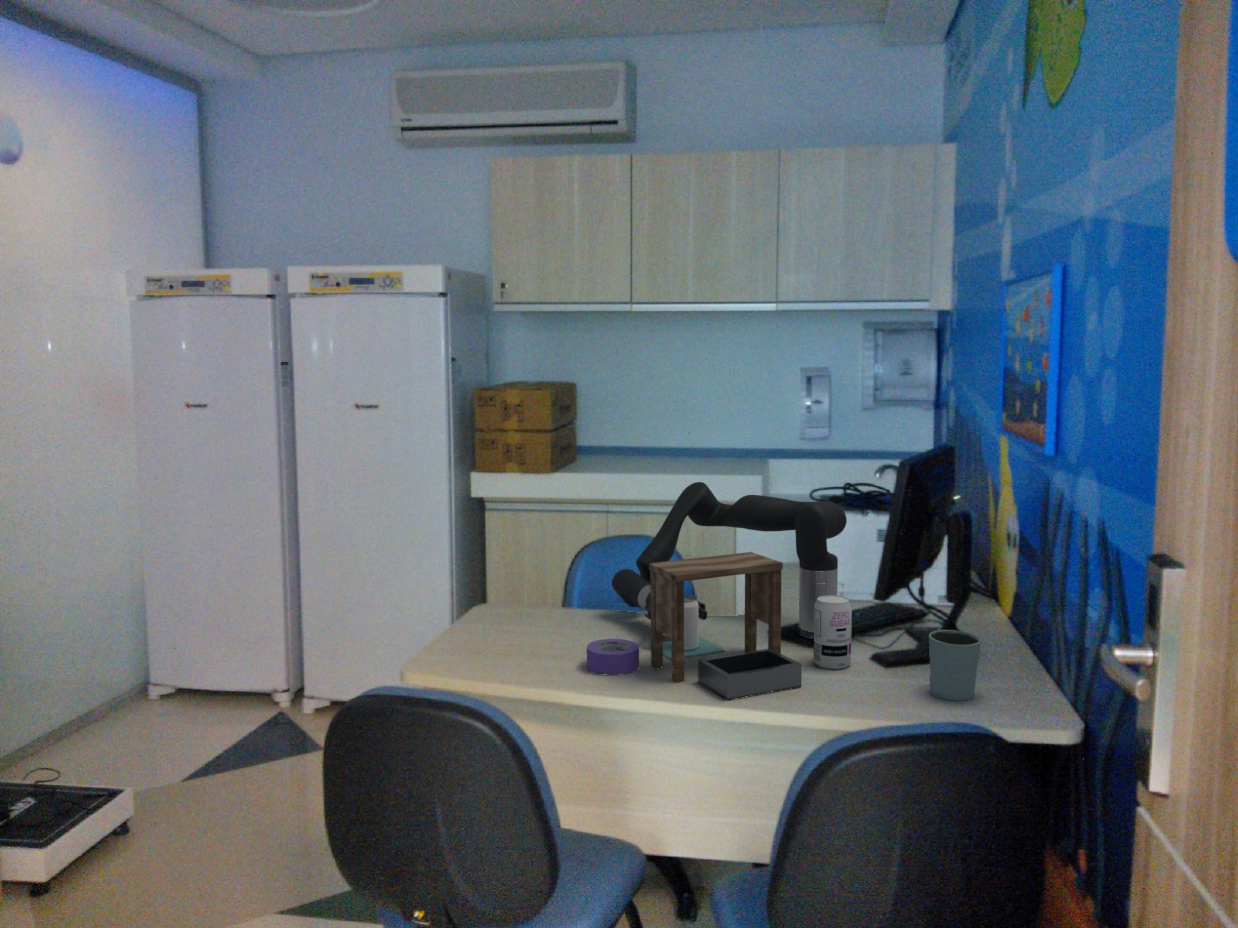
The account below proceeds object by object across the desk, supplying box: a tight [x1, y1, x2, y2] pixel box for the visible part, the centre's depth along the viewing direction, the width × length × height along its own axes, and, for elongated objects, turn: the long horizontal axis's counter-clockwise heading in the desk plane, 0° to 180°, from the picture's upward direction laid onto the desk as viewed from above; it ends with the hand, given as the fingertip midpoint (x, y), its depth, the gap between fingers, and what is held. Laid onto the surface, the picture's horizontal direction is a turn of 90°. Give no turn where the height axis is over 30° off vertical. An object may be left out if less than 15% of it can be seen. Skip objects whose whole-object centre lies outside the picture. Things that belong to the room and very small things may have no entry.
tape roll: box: [586, 638, 640, 676], centre depth 220 cm, size 12×12×5 cm
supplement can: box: [813, 595, 853, 670], centre depth 219 cm, size 8×8×15 cm
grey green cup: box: [928, 629, 982, 702], centre depth 200 cm, size 10×10×12 cm
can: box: [670, 594, 700, 651], centre depth 232 cm, size 6×6×12 cm
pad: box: [647, 636, 725, 661], centre depth 232 cm, size 12×14×1 cm
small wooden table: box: [649, 551, 784, 684], centre depth 218 cm, size 13×26×24 cm, turn 115°
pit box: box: [697, 648, 803, 701], centre depth 207 cm, size 12×18×5 cm, turn 115°
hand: (689, 617), depth 230 cm, fingers open, 8 cm apart
